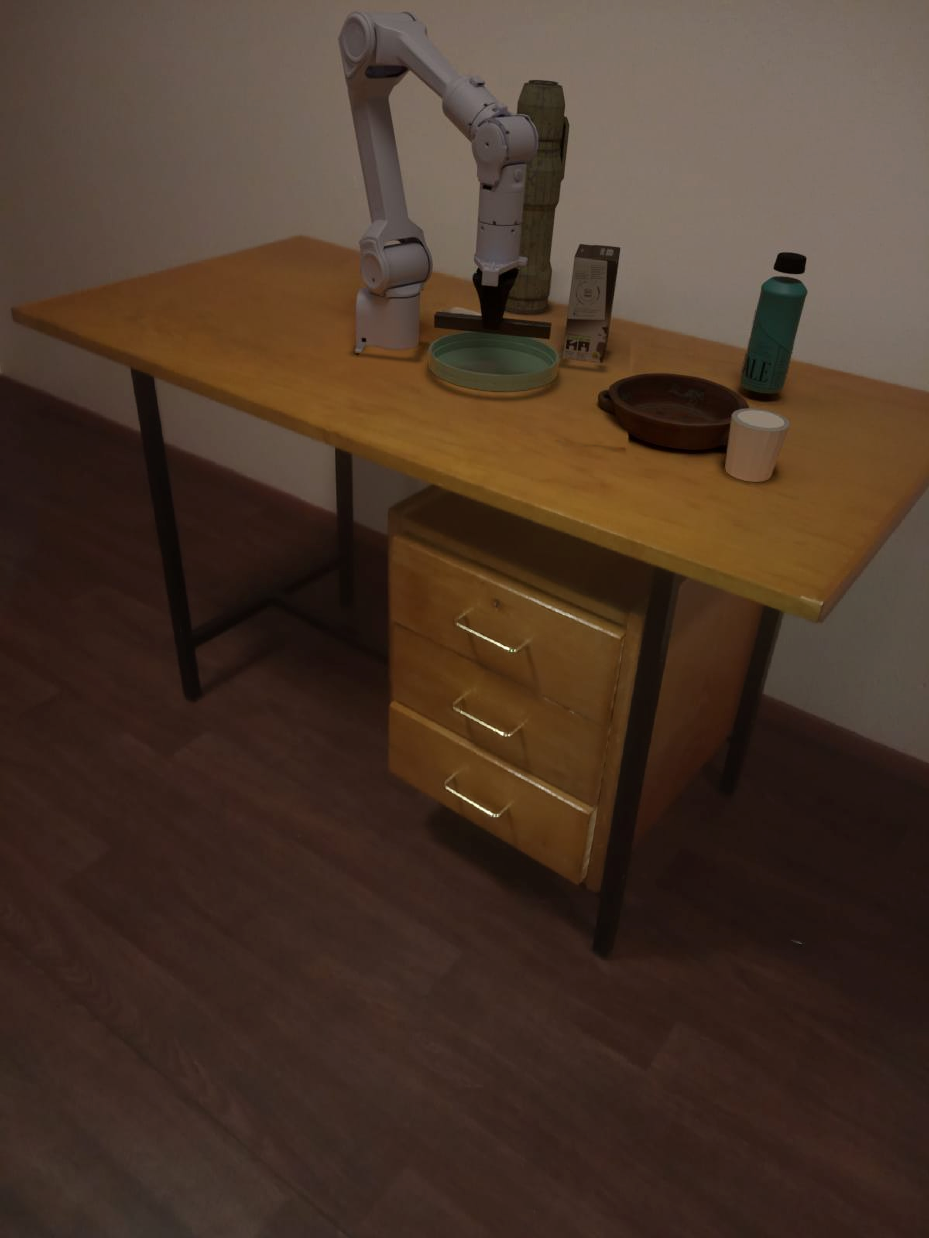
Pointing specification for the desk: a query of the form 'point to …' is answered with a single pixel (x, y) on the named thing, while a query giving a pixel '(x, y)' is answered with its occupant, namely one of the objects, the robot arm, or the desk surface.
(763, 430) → the white short cylinder
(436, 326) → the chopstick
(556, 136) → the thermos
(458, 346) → the green round tray
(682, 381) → the dish
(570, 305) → the coffee box
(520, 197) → the robot arm
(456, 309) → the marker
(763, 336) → the beverage bottle
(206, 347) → the desk surface
